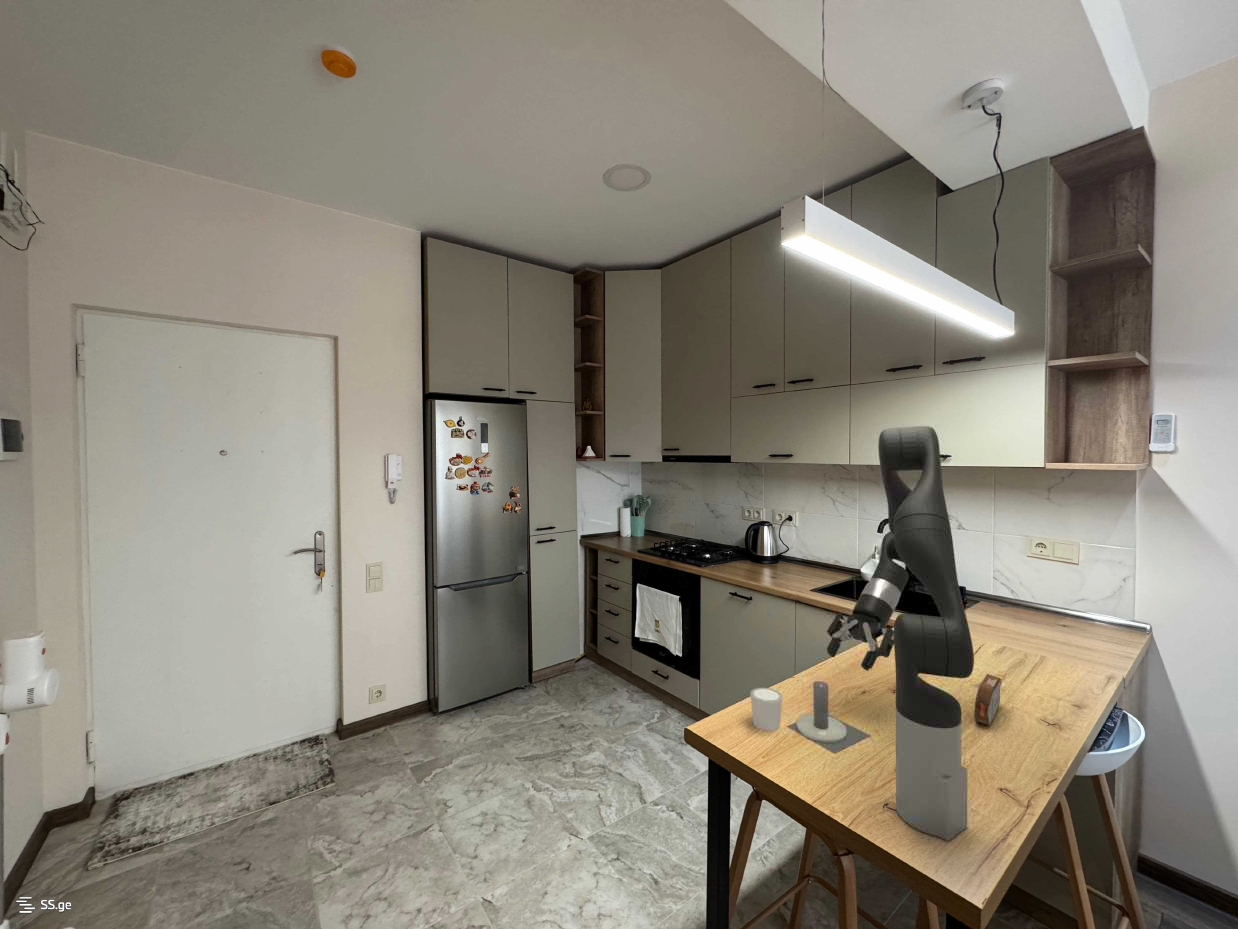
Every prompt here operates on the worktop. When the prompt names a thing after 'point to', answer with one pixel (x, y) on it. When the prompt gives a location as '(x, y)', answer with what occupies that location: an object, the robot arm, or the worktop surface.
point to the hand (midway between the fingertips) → (846, 661)
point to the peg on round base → (821, 719)
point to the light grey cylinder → (766, 708)
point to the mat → (851, 738)
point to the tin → (987, 699)
